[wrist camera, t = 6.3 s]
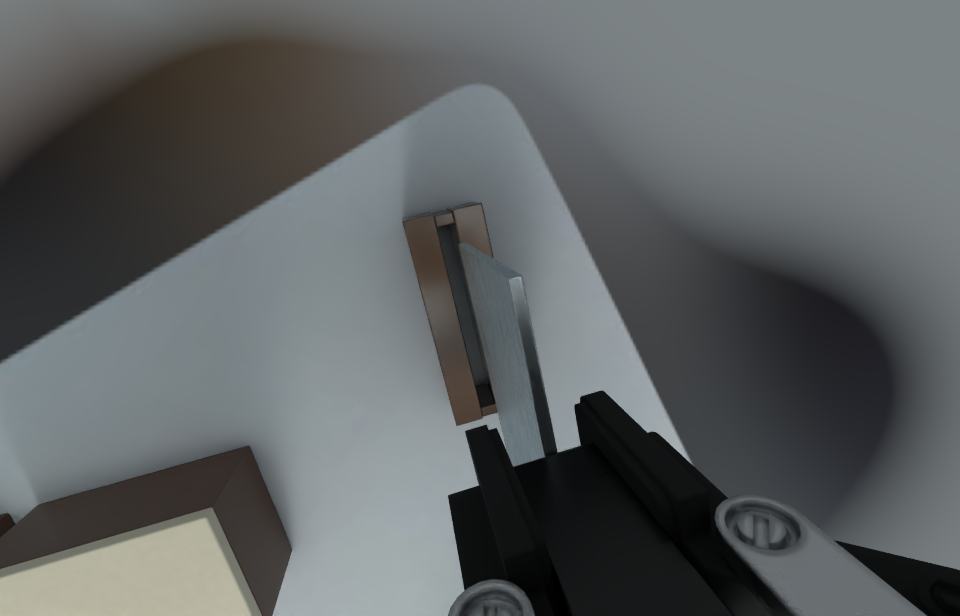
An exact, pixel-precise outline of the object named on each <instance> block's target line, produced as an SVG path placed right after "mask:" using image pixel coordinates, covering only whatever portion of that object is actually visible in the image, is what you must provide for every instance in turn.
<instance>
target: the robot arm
mask: <svg viewBox="0 0 960 616" xmlns="http://www.w3.org/2000/svg"><path fill="white" fill-rule="evenodd" d="M575 415H576V420H577V426H578V432H579V438H580V443H581V445H585V444H588V443H595V445H596V446H597V447H598V448H599V450H600V451H601V452H602V453H603V454H604V456H605V457H606V458H607V459H608V461H609V462H610V463H611V464H612V466H613V467H614V468H615V469H616V470H617V472H618V473H619V474H620V475H621V477H622V478H623V479H624V480H625V481H626V483H627V484H628V485H629V486H630V488H631V489H632V490H633V491H634V493H635V494H636V495H637V496H638V497H639V499H640V500H641V501H642V502H643V504H644V505H645V506H646V507H647V508H648V510H649V511H650V512H651V513H652V515H653V516H654V517H655V518H656V520H657V521H658V522H659V523H660V524H661V526H662V527H663V528H664V529H665V531H667V532H668V534H669V535H670V536H671V537H672V539H673V540H674V541H675V542H676V543H677V545H678V546H679V547H680V548H681V550H682V551H683V552H684V553H685V554H686V556H687V557H688V558H689V559H690V561H691V562H692V563H693V564H694V566H695V567H696V568H697V569H698V570H699V572H700V573H701V574H702V575H703V577H704V578H705V579H706V580H707V581H708V583H709V584H710V585H711V586H712V588H713V589H714V590H715V591H716V592H717V594H718V595H719V596H720V597H721V599H722V600H723V601H724V602H725V604H726V605H727V606H728V607H729V608H730V610H731V611H732V612H733V613H734V615H735V616H960V570H957V569H953V568H948V567H944V566H940V565H936V564H932V563H928V562H923V561H919V560H915V559H911V558H906V557H902V556H898V555H894V554H890V553H885V552H881V551H877V550H873V549H869V548H865V547H860V546H856V545H851V544H847V543H843V542H839V541H835V540H833V539H831V538H830V537H829V536H828V535H826V534H825V533H824V532H823V531H821V530H820V529H819V528H818V527H816V526H815V525H814V524H813V523H812V522H810V521H809V520H808V519H807V518H805V517H804V516H803V515H802V514H800V513H799V512H798V511H797V510H795V509H793V508H792V507H790V506H789V505H787V504H786V503H783V502H781V501H778V500H776V499H773V498H770V497H765V496H761V495H748V494H746V495H745V494H743V495H738V496H733V497H730V498H727V497H726V496H725V495H724V494H723V493H722V492H721V491H720V490H719V489H717V488H716V487H715V486H714V485H713V484H712V483H711V482H710V481H709V480H708V479H707V478H706V477H704V476H703V475H702V474H701V473H700V472H699V471H698V470H697V469H696V468H695V467H694V466H693V465H692V464H691V463H689V462H688V461H687V460H686V459H685V458H684V457H683V456H682V455H681V454H680V453H679V452H678V451H677V450H675V449H674V448H673V447H672V446H671V445H670V444H669V443H668V442H667V441H666V440H665V439H664V438H662V437H661V436H660V435H659V434H658V433H656V432H649V433H647V432H646V431H645V430H644V429H643V428H642V427H641V426H640V425H639V424H638V423H636V422H635V421H634V420H633V419H632V418H631V417H630V416H629V415H628V414H627V413H626V412H625V411H624V410H623V409H622V408H621V407H620V406H619V405H618V404H617V403H616V402H615V401H614V400H613V399H612V398H611V397H609V396H608V395H607V394H606V393H605V392H604V391H598V392H595V393H591V394H588V395H585V396H581V398H580V403H578V404H575ZM465 433H466V437H467V441H468V445H469V448H470V452H471V456H472V460H473V464H474V468H475V472H476V475H477V479H478V483H479V486H476V487H473V488H470V489H467V490H463V491H460V492H457V493H454V494H451V495H448V498H449V504H450V510H451V516H452V521H453V527H454V533H455V538H456V544H457V550H458V555H459V561H460V567H461V572H462V578H463V584H464V589H465V591H464V592H463V593H462V594H461V595H459V596H458V598H457V599H456V601H455V602H454V603H453V605H452V606H451V608H450V611H449V614H448V616H560V613H559V609H558V604H557V600H556V595H555V590H554V586H553V581H552V577H551V571H552V566H551V562H550V557H549V553H548V550H547V547H546V544H545V541H544V538H543V535H542V533H541V530H540V528H539V525H538V523H537V521H536V518H535V516H534V514H533V511H532V509H531V507H530V505H529V502H528V500H527V498H526V495H525V493H524V491H523V488H522V486H521V484H520V481H519V479H518V477H517V474H516V472H515V470H514V467H513V465H512V463H511V460H510V458H509V456H508V453H507V451H506V449H505V446H504V444H503V442H502V439H501V437H500V435H499V433H498V430H497V428H495V429H491V430H488V427H487V425H484V426H480V427H477V428H473V429H470V430H467V431H465Z"/></svg>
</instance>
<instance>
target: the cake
mask: <svg viewBox="0 0 960 616" xmlns="http://www.w3.org/2000/svg"><path fill="white" fill-rule="evenodd" d="M291 552H292V548H291V546H290V544H289V541H288V539H287V536H286V534H285V532H284V529H283V527H282V524H281V522H280V519H279V517H278V515H277V512H276V510H275V507H274V505H273V503H272V500H271V498H270V495H269V493H268V490H267V488H266V486H265V483H264V481H263V478H262V476H261V474H260V471H259V469H258V466H257V464H256V461H255V459H254V457H253V454H252V452H251V449H250V447H249V446H247V447H243V448H240V449H236V450H232V451H229V452H225V453H222V454H218V455H215V456H211V457H208V458H204V459H200V460H197V461H193V462H190V463H186V464H183V465H179V466H175V467H172V468H168V469H165V470H161V471H158V472H154V473H151V474H147V475H143V476H140V477H136V478H133V479H129V480H126V481H122V482H118V483H115V484H111V485H108V486H104V487H101V488H97V489H93V490H90V491H86V492H83V493H79V494H76V495H72V496H69V497H65V498H61V499H58V500H54V501H51V502H47V503H44V504H40V505H38V506H37V507H35V508H34V509H33V510H32V511H31V512H29V513H28V514H27V515H26V516H25V517H24V518H22V519H21V520H20V521H19V522H18V523H17V524H15V525H14V526H13V527H12V528H11V529H10V530H8V531H7V532H6V533H5V534H4V535H3V536H1V537H0V616H272V615H273V611H274V608H275V605H276V601H277V598H278V595H279V591H280V588H281V585H282V582H283V578H284V575H285V572H286V568H287V565H288V562H289V559H290V555H291Z"/></svg>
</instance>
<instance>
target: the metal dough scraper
mask: <svg viewBox="0 0 960 616" xmlns="http://www.w3.org/2000/svg"><path fill="white" fill-rule="evenodd" d="M458 246H459V250H460V254H461V258H462V262H463V267H464V271H465V275H466V279H467V284H468V288H469V292H470V296H471V301H472V305H473V309H474V313H475V318H476V322H477V326H478V330H479V335H480V339H481V343H482V347H483V352H484V356H485V360H486V364H487V369H488V373H489V377H490V381H491V386H492V390H493V394H494V398H495V403H496V407H497V411H498V415H499V420H500V424H501V428H502V432H503V437H504V441H505V445H506V449H507V453H508V456H509V458H510V460H511V463H512V465H513V467H514V470H515V472H516V474H517V477H518V479H519V481H520V484H521V486H522V488H523V491H524V493H525V495H526V498H527V500H528V502H529V505H530V507H531V509H532V511H533V514H534V516H535V518H536V521H537V523H538V525H539V528H540V530H541V533H542V535H543V538H544V541H545V544H546V547H547V550H548V553H549V557H550V562H551V566H552V571H551V577H552V581H553V586H554V590H555V595H556V600H557V604H558V609H559V613H560V616H735V615H734V613H733V612H732V611H731V610H730V608H729V607H728V606H727V605H726V604H725V602H724V601H723V600H722V599H721V597H720V596H719V595H718V594H717V592H716V591H715V590H714V589H713V588H712V586H711V585H710V584H709V583H708V581H707V580H706V579H705V578H704V577H703V575H702V574H701V573H700V572H699V570H698V569H697V568H696V567H695V566H694V564H693V563H692V562H691V561H690V559H689V558H688V557H687V556H686V554H685V553H684V552H683V551H682V550H681V548H680V547H679V546H678V545H677V543H676V542H675V541H674V540H673V539H672V537H671V536H670V535H669V534H668V532H667V531H665V529H664V528H663V527H662V526H661V524H660V523H659V522H658V521H657V520H656V518H655V517H654V516H653V515H652V513H651V512H650V511H649V510H648V508H647V507H646V506H645V505H644V504H643V502H642V501H641V500H640V499H639V497H638V496H637V495H636V494H635V493H634V491H633V490H632V489H631V488H630V486H629V485H628V484H627V483H626V481H625V480H624V479H623V478H622V477H621V475H620V474H619V473H618V472H617V470H616V469H615V468H614V467H613V466H612V464H611V463H610V462H609V461H608V459H607V458H606V457H605V456H604V454H603V453H602V452H601V451H600V450H599V448H598V447H597V446H596V445H595V443H588V444H585V445H581V446H578V447H575V448H572V449H568V450H565V451H562V452H559V453H558V452H557V447H556V442H555V437H554V433H553V428H552V423H551V418H550V413H549V408H548V403H547V398H546V393H545V388H544V383H543V378H542V373H541V368H540V363H539V358H538V353H537V348H536V343H535V338H534V333H533V328H532V323H531V318H530V313H529V308H528V303H527V298H526V294H525V289H524V284H523V279H522V276H521V275H520V274H518V273H517V272H515V271H513V270H512V269H510V268H508V267H507V266H505V265H503V264H501V263H500V262H498V261H496V260H495V259H493V258H491V257H490V256H488V255H486V254H485V253H483V252H481V251H480V250H478V249H476V248H475V247H473V246H471V245H469V244H468V243H466V242H465V243H461V244H459V245H458Z"/></svg>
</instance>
